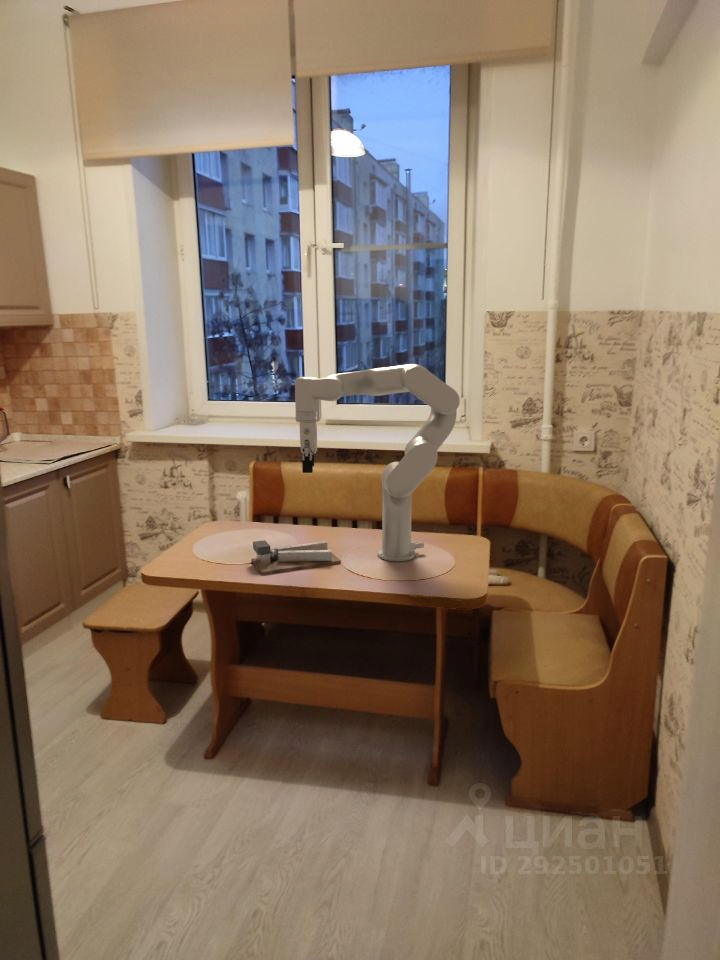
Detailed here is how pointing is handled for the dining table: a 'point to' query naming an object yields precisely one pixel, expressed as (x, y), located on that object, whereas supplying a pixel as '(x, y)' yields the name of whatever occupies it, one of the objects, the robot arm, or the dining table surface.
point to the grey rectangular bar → (301, 555)
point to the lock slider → (261, 547)
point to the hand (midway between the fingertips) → (308, 469)
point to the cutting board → (291, 565)
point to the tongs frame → (265, 558)
